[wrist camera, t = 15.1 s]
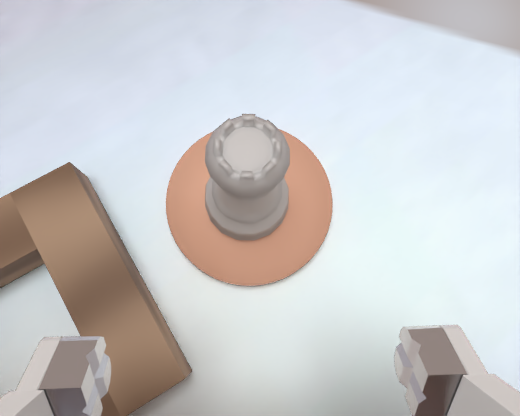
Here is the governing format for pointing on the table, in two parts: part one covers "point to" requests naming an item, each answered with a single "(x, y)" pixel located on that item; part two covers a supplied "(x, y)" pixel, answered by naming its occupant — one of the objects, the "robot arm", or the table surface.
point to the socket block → (92, 282)
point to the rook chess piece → (247, 177)
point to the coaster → (250, 251)
